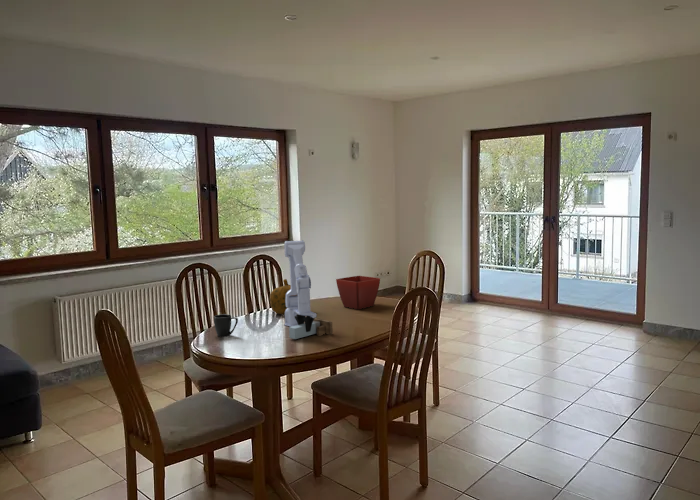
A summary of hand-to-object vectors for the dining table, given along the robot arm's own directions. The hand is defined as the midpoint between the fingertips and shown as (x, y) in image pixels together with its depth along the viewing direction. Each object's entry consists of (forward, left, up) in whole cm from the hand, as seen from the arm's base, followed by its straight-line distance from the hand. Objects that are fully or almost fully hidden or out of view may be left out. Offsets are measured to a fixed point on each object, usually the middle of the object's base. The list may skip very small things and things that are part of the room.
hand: (305, 330), depth 256 cm
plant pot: (-25, +65, -3) cm, 70 cm away
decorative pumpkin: (-46, +29, -3) cm, 54 cm away
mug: (-32, -22, -3) cm, 39 cm away
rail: (0, 0, -2) cm, 2 cm away
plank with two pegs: (0, +9, -3) cm, 9 cm away
